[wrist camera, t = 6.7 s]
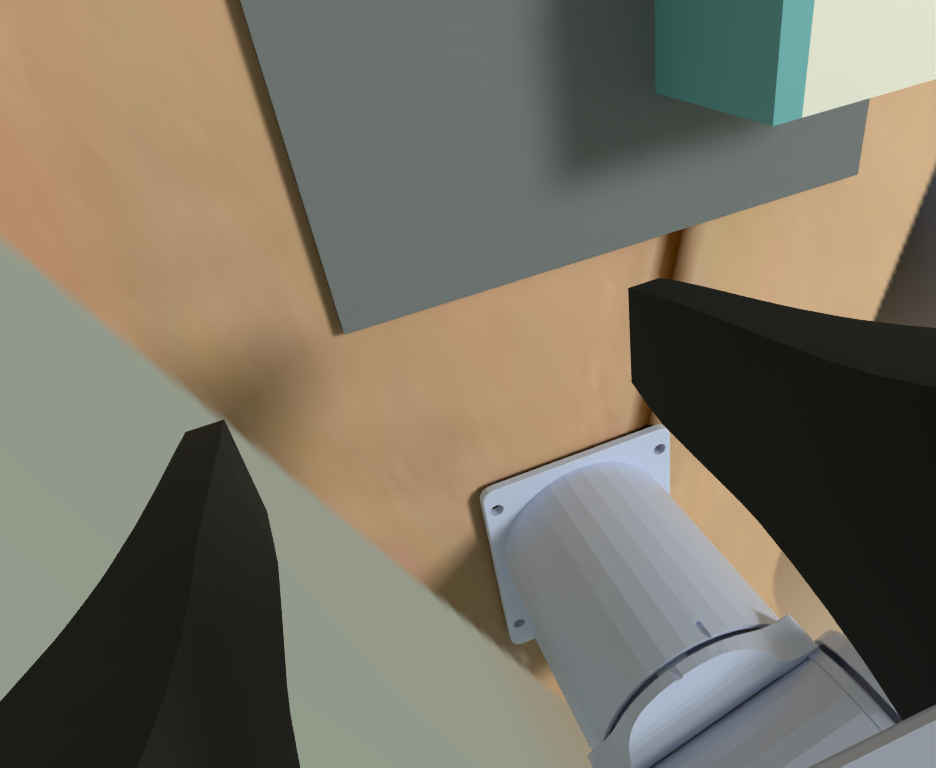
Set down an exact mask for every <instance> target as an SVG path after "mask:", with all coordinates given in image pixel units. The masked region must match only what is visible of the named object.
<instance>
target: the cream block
mask: <svg viewBox="0 0 936 768" xmlns="http://www.w3.org/2000/svg"><path fill="white" fill-rule="evenodd" d="M934 79H936V0H655V93H658V94H661V95H665V96H668V97H672V98H675V99H679V100H682V101H686V102H689V103H693V104H696V105H700V106H703V107H707V108H710V109H714V110H717V111H721V112H724V113H728V114H731V115H735V116H738V117H742V118H745V119H749V120H752V121H756V122H759V123H763V124H766V125H770V126H776V125H779V124H783V123H786V122H790V121H793V120H796V119H800V118H803V117H807V116H810V115H814V114H817V113H821V112H824V111H827V110H831V109H834V108H838V107H841V106H845V105H848V104H852V103H855V102H858V101H862V100H865V99H869V98H872V97H876V96H879V95H883V94H886V93H890V92H893V91H896V90H900V89H903V88H907V87H910V86H914V85H917V84H921V83H924V82H927V81H931V80H934Z"/></svg>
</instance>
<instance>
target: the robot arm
mask: <svg viewBox="0 0 936 768" xmlns="http://www.w3.org/2000/svg"><path fill="white" fill-rule="evenodd" d="M628 292H629V320H630V348H631V375H632V383H633V385H634V386H635V388H636V389H637V390H638V392H639V393H640V395H641V396H642V397H643V399H644V400H645V402H646V403H647V405H648V406H649V407H650V408H651V410H652V411H653V412H654V414H655V415H656V416H657V418H658V419H659V420H660V421H661V423H662V424H663V425H664V426H665V427H666V428H667V429H668V430H669V431H670V432H671V433H672V434H673V435H674V436H675V437H676V438H677V439H678V440H679V441H680V442H681V443H682V444H683V445H684V446H685V447H686V448H687V449H688V450H689V451H690V452H691V453H692V454H693V455H694V456H695V457H696V458H697V459H698V460H699V461H700V462H701V463H702V464H703V465H704V466H705V467H706V468H707V469H708V470H709V471H710V472H711V473H712V474H713V475H714V476H715V477H716V478H717V479H718V480H719V481H720V482H721V483H722V484H723V485H724V486H725V487H726V488H727V489H728V490H729V491H730V492H731V493H732V494H733V495H734V496H735V497H736V498H737V499H738V500H739V501H740V502H741V503H742V504H743V505H744V506H745V507H746V508H747V509H748V511H749V512H750V513H751V514H752V515H753V516H754V517H755V518H756V519H757V520H758V521H759V523H760V524H761V525H762V526H763V528H764V529H765V530H766V531H767V533H768V534H769V535H770V536H771V537H772V539H773V540H774V541H775V542H776V544H777V545H778V546H779V547H780V549H781V550H782V551H783V552H784V553H785V555H786V556H787V557H788V559H789V560H790V561H791V562H792V564H793V565H794V566H795V567H796V569H797V570H798V571H799V573H800V574H801V575H802V577H803V578H804V579H805V581H806V582H807V583H808V585H809V586H810V587H811V589H812V590H813V591H814V593H815V594H816V595H817V597H818V598H819V599H820V601H821V602H822V603H823V605H824V606H825V607H826V609H827V610H828V611H829V613H830V614H831V615H832V617H833V618H834V620H835V621H836V623H837V624H838V625H839V627H840V628H841V630H842V631H843V633H844V634H843V633H841V632H838V631H834V630H829V631H827V632H826V633H824V634H823V635H821V636H820V637H819V638H817V639H816V640H815V642H814V641H813V640H812V638H811V637H810V636H809V635H808V634H807V633H806V632H805V631H804V630H803V629H802V627H801V626H800V625H799V624H798V623H797V622H796V621H795V620H794V619H793V618H792V617H791V616H790V615H786V616H784V617H783V618H781V619H779V618H778V616H777V615H776V614H775V613H774V612H773V611H772V610H771V609H770V607H769V606H768V605H767V604H766V603H765V602H764V601H763V600H762V599H761V597H760V596H759V595H758V594H757V593H756V592H755V591H754V590H753V588H752V587H751V586H750V585H749V584H748V583H747V582H746V581H745V579H744V578H743V577H742V576H741V575H740V574H739V573H738V572H737V570H736V569H735V568H734V567H733V566H732V565H731V564H730V563H729V562H728V560H727V559H726V558H725V557H724V556H723V555H722V554H721V553H720V551H719V550H718V549H717V548H716V547H715V546H714V545H713V544H712V542H711V541H710V540H709V539H708V538H707V537H706V536H705V535H704V534H703V532H702V531H701V530H700V529H699V528H698V527H697V526H696V525H695V523H694V522H693V521H692V520H691V519H690V518H689V517H688V516H687V514H686V513H685V512H684V511H683V510H682V509H681V508H680V507H679V506H678V504H677V503H676V502H675V501H674V500H673V499H672V498H671V497H670V433H669V431H668V430H667V429H666V428H665V427H664V426H663V425H660V424H658V425H654V426H651V427H648V428H645V429H643V430H640V431H637V432H635V433H632V434H629V435H626V436H624V437H621V438H618V439H616V440H613V441H610V442H607V443H605V444H602V445H599V446H597V447H594V448H591V449H588V450H586V451H583V452H580V453H578V454H575V455H572V456H569V457H567V458H564V459H561V460H559V461H556V462H553V463H550V464H548V465H545V466H542V467H540V468H537V469H534V470H531V471H529V472H526V473H523V474H521V475H518V476H515V477H512V478H510V479H507V480H504V481H502V482H499V483H496V484H493V485H491V486H489V487H487V488H485V489H484V490H483V491H482V493H481V495H480V503H481V508H482V513H483V517H484V522H485V527H486V531H487V536H488V541H489V545H490V550H491V554H492V559H493V564H494V568H495V573H496V578H497V582H498V587H499V592H500V596H501V601H502V605H503V610H504V615H505V619H506V624H507V629H508V633H509V636H510V639H511V641H512V642H513V643H514V644H522V643H525V642H527V641H530V640H532V639H536V641H537V643H538V645H539V647H540V649H541V651H542V653H543V655H544V657H545V659H546V661H547V663H548V665H549V667H550V669H551V671H552V673H553V675H554V677H555V679H556V681H557V683H558V685H559V687H560V689H561V691H562V693H563V695H564V697H565V699H566V701H567V703H568V705H569V707H570V709H571V711H572V713H573V715H574V716H575V719H576V721H577V723H578V725H579V727H580V729H581V731H582V732H583V734H584V736H585V738H586V740H587V742H588V744H589V746H590V748H591V749H592V752H591V753H589V755H588V758H589V760H590V762H591V764H592V766H593V768H936V328H929V327H916V326H906V325H898V324H890V323H882V322H874V321H866V320H858V319H852V318H845V317H839V316H834V315H829V314H823V313H818V312H813V311H807V310H802V309H797V308H793V307H788V306H783V305H779V304H774V303H770V302H765V301H761V300H757V299H753V298H749V297H744V296H740V295H736V294H732V293H728V292H724V291H720V290H716V289H711V288H707V287H703V286H699V285H694V284H690V283H685V282H680V281H675V280H668V279H661V278H658V279H655V280H652V281H649V282H646V283H643V284H640V285H637V286H634V287H631V288H628ZM657 445H658V447H656V446H657ZM655 447H656V448H655ZM496 505H499V506H498V507H496V508H495V509H492V508H493V507H494V506H496ZM0 768H300V765H299V759H298V754H297V749H296V742H295V737H294V731H293V727H292V721H291V715H290V707H289V699H288V690H287V679H286V665H285V652H284V638H283V624H282V610H281V597H280V583H279V571H278V562H277V557H276V552H275V547H274V542H273V537H272V533H271V528H270V523H269V519H268V514H267V511H266V508H265V506H264V504H263V502H262V500H261V498H260V496H259V493H258V491H257V489H256V487H255V485H254V483H253V481H252V478H251V476H250V474H249V472H248V470H247V468H246V465H245V463H244V461H243V459H242V457H241V455H240V453H239V450H238V448H237V446H236V444H235V442H234V440H233V438H232V435H231V433H230V431H229V429H228V427H227V425H226V423H225V420H221V421H218V422H215V423H212V424H209V425H206V426H203V427H200V428H197V429H194V430H191V431H188V432H185V434H184V436H183V438H182V440H181V442H180V444H179V445H178V447H177V449H176V451H175V453H174V455H173V457H172V458H171V460H170V462H169V465H168V466H167V468H166V470H165V472H164V474H163V476H162V478H161V480H160V482H159V484H158V486H157V487H156V490H155V491H154V493H153V495H152V497H151V499H150V500H149V502H148V504H147V506H146V508H145V510H144V511H143V513H142V515H141V517H140V518H139V520H138V522H137V524H136V526H135V527H134V529H133V530H132V532H131V534H130V535H129V537H128V538H127V540H126V542H125V543H124V545H123V546H122V548H121V550H120V551H119V553H118V554H117V556H116V558H115V559H114V561H113V562H112V564H111V565H110V567H109V569H108V570H107V572H106V573H105V575H104V576H103V577H102V579H101V581H100V582H99V583H98V585H97V586H96V587H95V589H94V590H93V592H92V593H91V594H90V596H89V597H88V599H87V600H86V601H85V602H84V604H83V605H82V606H81V607H80V609H79V610H78V611H77V613H76V614H75V615H74V617H73V618H72V619H71V621H70V622H69V623H68V624H67V626H66V627H65V628H64V629H63V631H62V632H61V633H60V634H59V636H58V637H57V638H56V639H55V641H54V642H53V643H52V644H51V645H50V646H49V647H48V648H47V650H46V651H45V652H44V653H43V654H42V655H41V656H40V658H39V659H38V660H37V661H36V662H35V663H34V664H33V666H32V667H31V668H30V669H29V670H28V671H27V672H26V673H25V674H24V676H23V677H22V678H21V679H20V680H19V681H18V682H17V683H16V685H15V686H14V687H13V688H12V689H11V690H10V691H9V693H8V694H7V695H6V696H5V697H4V698H3V699H2V700H1V701H0Z"/></svg>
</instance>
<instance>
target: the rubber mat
mask: <svg viewBox="0 0 936 768" xmlns="http://www.w3.org/2000/svg"><path fill="white" fill-rule="evenodd" d="M240 3H241V7H242V10H243V13H244V16H245V19H246V23H247V26H248V29H249V32H250V35H251V39H252V42H253V45H254V48H255V51H256V55H257V58H258V61H259V64H260V67H261V71H262V74H263V77H264V80H265V83H266V87H267V90H268V93H269V96H270V99H271V103H272V106H273V109H274V112H275V115H276V119H277V122H278V125H279V128H280V131H281V135H282V138H283V141H284V144H285V147H286V151H287V154H288V157H289V160H290V163H291V167H292V170H293V173H294V176H295V179H296V183H297V186H298V189H299V192H300V195H301V199H302V202H303V205H304V208H305V212H306V215H307V218H308V221H309V224H310V228H311V231H312V234H313V237H314V240H315V244H316V247H317V250H318V253H319V256H320V260H321V263H322V266H323V269H324V272H325V276H326V279H327V282H328V285H329V288H330V292H331V295H332V298H333V301H334V304H335V308H336V311H337V314H338V317H339V320H340V324H341V327H342V330H343V332H344V335H345V334H348V333H351V332H355V331H358V330H361V329H364V328H367V327H371V326H374V325H377V324H380V323H383V322H387V321H390V320H393V319H396V318H399V317H403V316H406V315H409V314H412V313H415V312H419V311H422V310H425V309H428V308H431V307H435V306H438V305H441V304H444V303H447V302H451V301H454V300H457V299H460V298H463V297H467V296H470V295H473V294H476V293H479V292H483V291H486V290H489V289H492V288H495V287H499V286H502V285H505V284H508V283H511V282H515V281H518V280H521V279H524V278H527V277H531V276H534V275H537V274H540V273H543V272H547V271H550V270H553V269H556V268H559V267H563V266H566V265H569V264H572V263H575V262H579V261H582V260H585V259H588V258H591V257H595V256H598V255H601V254H604V253H607V252H611V251H614V250H617V249H620V248H623V247H627V246H630V245H633V244H636V243H639V242H643V241H646V240H649V239H652V238H655V237H659V236H662V235H665V234H668V233H671V232H675V231H678V230H681V229H684V228H687V227H691V226H694V225H697V224H700V223H703V222H707V221H710V220H713V219H716V218H719V217H723V216H726V215H729V214H732V213H735V212H739V211H742V210H745V209H748V208H751V207H755V206H758V205H761V204H764V203H767V202H771V201H774V200H777V199H780V198H783V197H787V196H790V195H793V194H796V193H799V192H803V191H806V190H809V189H812V188H815V187H819V186H822V185H825V184H828V183H831V182H835V181H838V180H841V179H844V178H847V177H851V176H854V175H857V174H858V169H859V162H860V156H861V150H862V143H863V137H864V131H865V125H866V118H867V112H868V106H869V99H870V98H869V99H865V100H862V101H858V102H855V103H852V104H848V105H845V106H841V107H838V108H834V109H831V110H827V111H824V112H821V113H817V114H814V115H810V116H807V117H803V118H800V119H796V120H793V121H790V122H786V123H783V124H779V125H776V126H770V125H766V124H763V123H759V122H756V121H752V120H749V119H745V118H742V117H738V116H735V115H731V114H728V113H724V112H721V111H717V110H714V109H710V108H707V107H703V106H700V105H696V104H693V103H689V102H686V101H682V100H679V99H675V98H672V97H668V96H665V95H661V94H658V93H655V0H240Z"/></svg>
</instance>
